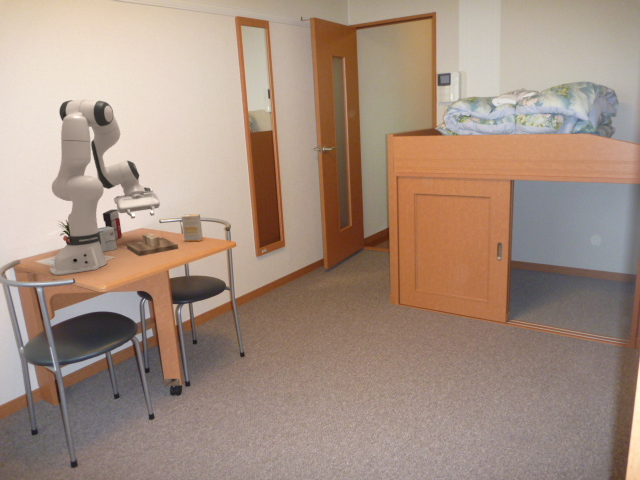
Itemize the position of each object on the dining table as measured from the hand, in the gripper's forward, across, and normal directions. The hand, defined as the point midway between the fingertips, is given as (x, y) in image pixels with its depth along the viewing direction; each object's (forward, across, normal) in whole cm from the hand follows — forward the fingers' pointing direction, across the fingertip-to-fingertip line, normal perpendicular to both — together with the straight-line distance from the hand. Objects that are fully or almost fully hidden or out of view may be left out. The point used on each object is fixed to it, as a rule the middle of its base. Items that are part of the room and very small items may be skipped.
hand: (143, 216), depth 263 cm
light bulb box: (+7, -19, +14) cm, 25 cm away
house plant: (-1, -31, +22) cm, 38 cm away
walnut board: (+16, 0, +4) cm, 17 cm away
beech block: (+9, 0, +6) cm, 11 cm away
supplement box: (+16, +21, +4) cm, 27 cm away
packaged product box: (-8, -8, +29) cm, 31 cm away
